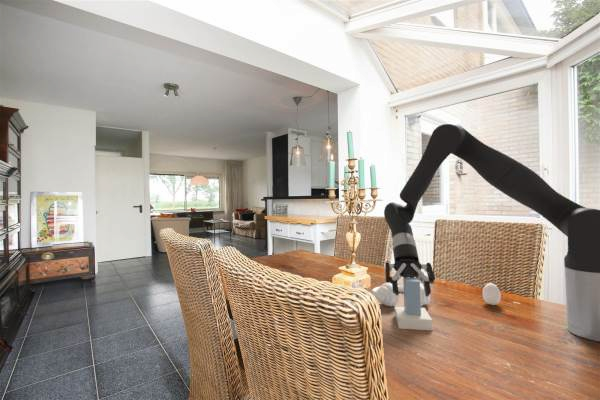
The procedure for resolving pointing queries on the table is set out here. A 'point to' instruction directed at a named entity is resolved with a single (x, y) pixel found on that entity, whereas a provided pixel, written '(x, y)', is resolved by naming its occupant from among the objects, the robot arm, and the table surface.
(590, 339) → the robot arm
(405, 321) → the base
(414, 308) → the pillar
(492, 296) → the egg
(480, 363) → the table surface
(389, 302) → the headphones
